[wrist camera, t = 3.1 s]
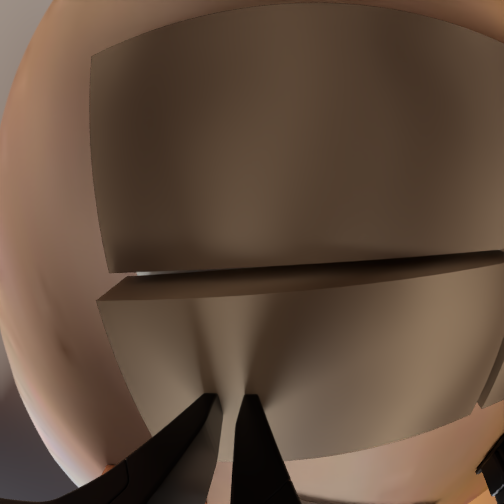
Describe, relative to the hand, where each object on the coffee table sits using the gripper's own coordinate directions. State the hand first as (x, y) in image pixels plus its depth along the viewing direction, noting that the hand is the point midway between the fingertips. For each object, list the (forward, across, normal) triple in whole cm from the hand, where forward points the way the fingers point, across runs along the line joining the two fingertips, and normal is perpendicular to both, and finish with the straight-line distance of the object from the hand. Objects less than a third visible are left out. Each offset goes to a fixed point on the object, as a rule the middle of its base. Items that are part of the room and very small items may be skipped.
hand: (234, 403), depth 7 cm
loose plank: (+2, -3, 0) cm, 4 cm away
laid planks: (+3, -6, -4) cm, 8 cm away
